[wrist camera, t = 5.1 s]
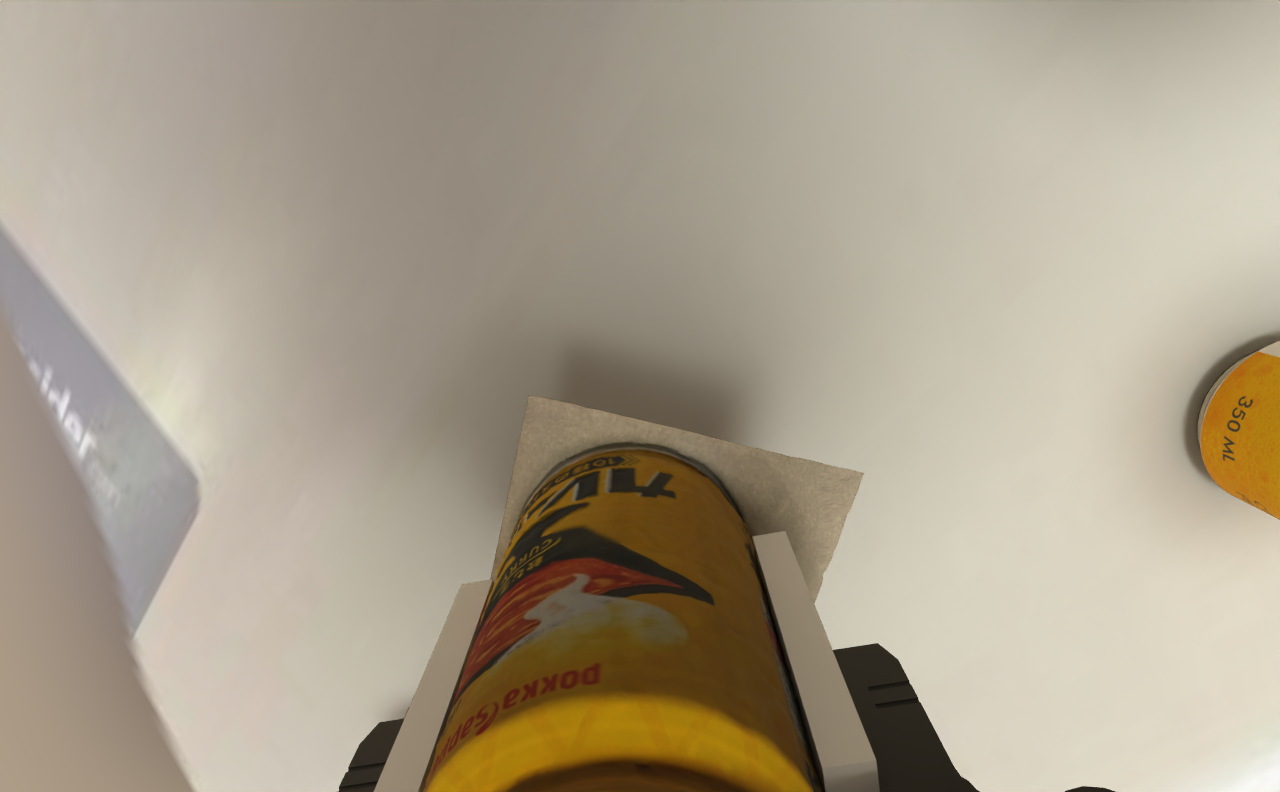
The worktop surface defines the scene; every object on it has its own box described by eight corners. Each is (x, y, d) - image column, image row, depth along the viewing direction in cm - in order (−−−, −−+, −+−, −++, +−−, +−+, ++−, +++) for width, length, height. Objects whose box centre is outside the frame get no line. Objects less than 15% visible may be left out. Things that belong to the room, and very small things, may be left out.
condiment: (529, 392, 17) (309, 844, 6) (862, 470, 18) (1257, 1016, 6) (477, 639, 19) (243, 1321, 8) (775, 701, 20) (954, 1415, 9)
